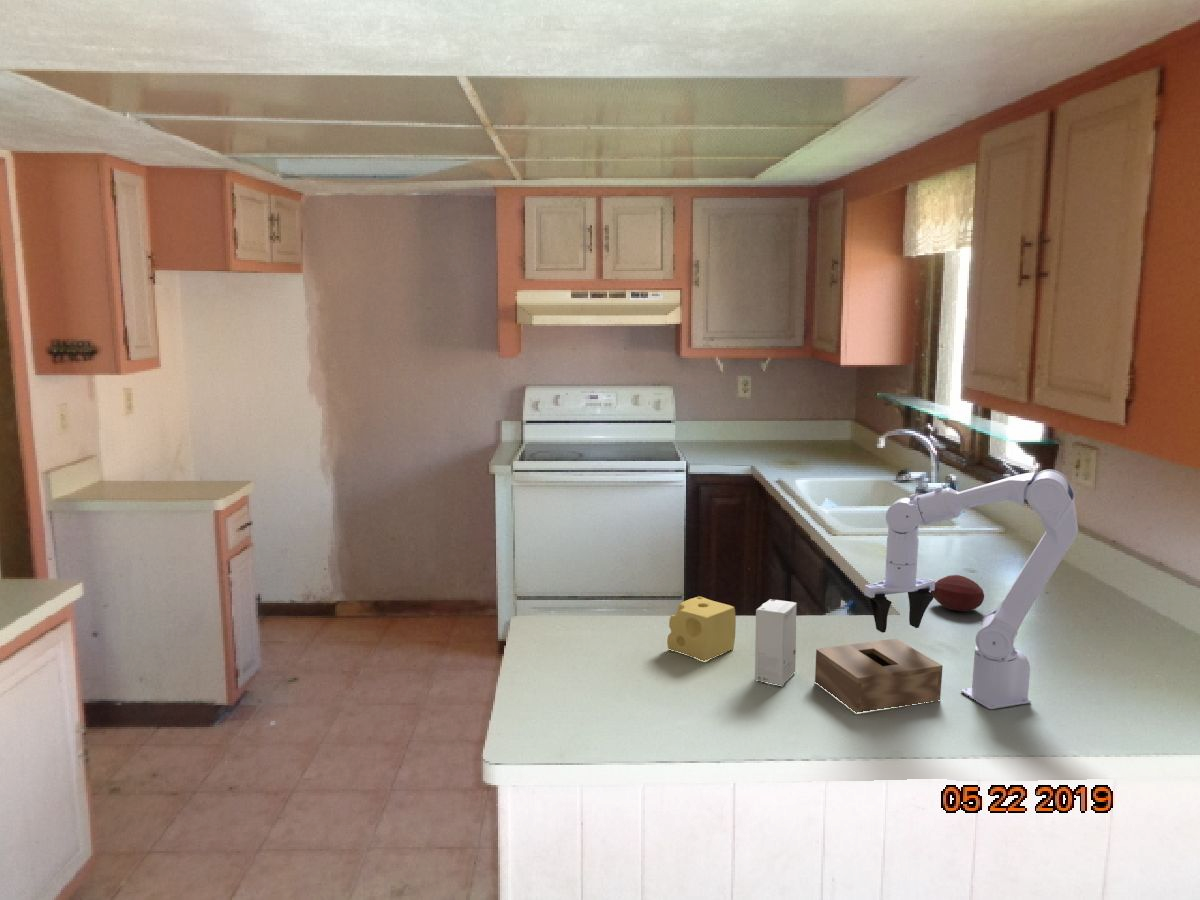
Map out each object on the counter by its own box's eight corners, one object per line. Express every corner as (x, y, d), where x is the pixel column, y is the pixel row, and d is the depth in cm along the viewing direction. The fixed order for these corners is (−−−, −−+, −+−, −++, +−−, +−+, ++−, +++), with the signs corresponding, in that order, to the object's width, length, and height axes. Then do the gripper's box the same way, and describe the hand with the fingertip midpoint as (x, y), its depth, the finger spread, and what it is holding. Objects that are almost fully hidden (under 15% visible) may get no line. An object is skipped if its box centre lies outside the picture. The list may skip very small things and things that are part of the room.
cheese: (666, 650, 192) (667, 605, 190) (699, 637, 199) (700, 593, 198) (705, 664, 185) (706, 618, 183) (737, 650, 192) (738, 605, 190)
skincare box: (782, 688, 173) (785, 614, 171) (752, 681, 176) (754, 609, 174) (796, 672, 181) (798, 601, 178) (767, 666, 183) (769, 596, 181)
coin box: (894, 671, 181) (896, 638, 180) (940, 701, 168) (942, 665, 167) (814, 683, 176) (816, 649, 174) (856, 714, 162) (857, 678, 161)
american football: (989, 619, 210) (992, 584, 209) (941, 618, 211) (943, 584, 209) (970, 602, 222) (973, 569, 220) (924, 602, 222) (926, 569, 221)
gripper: (920, 552, 179) (916, 617, 182) (856, 558, 175) (853, 625, 177) (943, 562, 173) (939, 629, 175) (878, 569, 168) (874, 638, 171)
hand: (897, 628), depth 176 cm, fingers open, 7 cm apart
